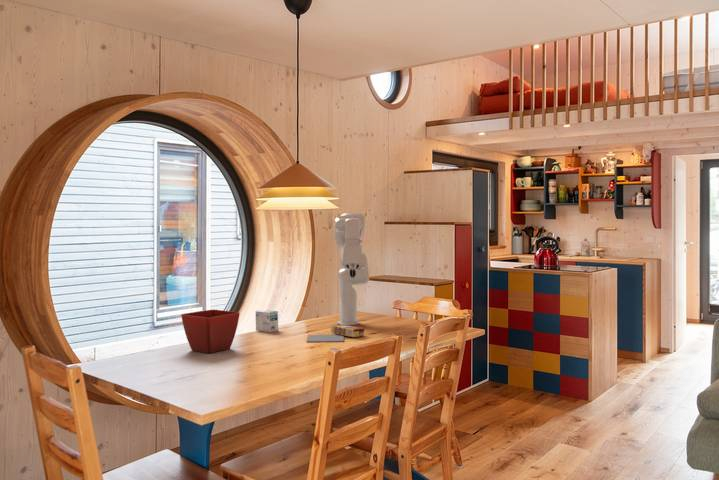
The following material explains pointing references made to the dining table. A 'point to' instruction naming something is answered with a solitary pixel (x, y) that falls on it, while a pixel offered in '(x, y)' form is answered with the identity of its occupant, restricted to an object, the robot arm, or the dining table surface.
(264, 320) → the light bulb box
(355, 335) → the candy box
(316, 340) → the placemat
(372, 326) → the dining table surface
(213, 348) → the plant pot
